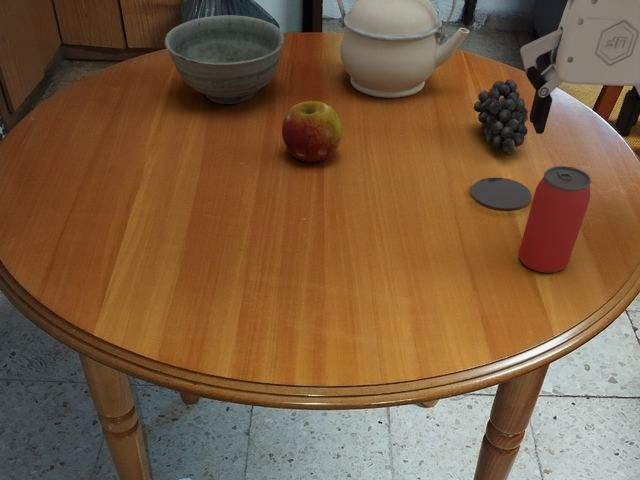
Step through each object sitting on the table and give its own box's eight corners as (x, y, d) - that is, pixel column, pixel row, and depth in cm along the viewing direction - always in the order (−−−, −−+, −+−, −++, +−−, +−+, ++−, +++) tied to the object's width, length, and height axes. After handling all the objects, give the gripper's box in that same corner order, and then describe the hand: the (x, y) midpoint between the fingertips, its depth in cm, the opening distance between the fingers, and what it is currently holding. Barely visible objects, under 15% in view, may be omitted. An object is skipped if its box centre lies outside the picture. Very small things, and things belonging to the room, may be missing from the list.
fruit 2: (533, 107, 101) (519, 66, 111) (477, 123, 104) (468, 81, 113) (537, 160, 108) (524, 116, 117) (485, 173, 110) (476, 129, 120)
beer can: (554, 244, 93) (580, 161, 84) (576, 272, 89) (605, 187, 80) (509, 249, 92) (531, 166, 83) (529, 278, 88) (554, 193, 79)
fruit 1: (271, 160, 108) (269, 110, 103) (299, 137, 114) (298, 88, 108) (324, 175, 106) (325, 124, 100) (350, 151, 111) (352, 101, 105)
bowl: (280, 69, 133) (278, 13, 126) (291, 116, 119) (289, 55, 112) (173, 74, 131) (165, 16, 124) (172, 122, 117) (163, 60, 110)
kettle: (316, 91, 126) (317, -70, 108) (350, 57, 138) (357, -94, 119) (446, 115, 120) (471, -52, 102) (470, 77, 132) (497, -79, 113)
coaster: (525, 180, 105) (525, 178, 105) (535, 211, 99) (536, 208, 99) (467, 179, 105) (467, 176, 105) (474, 210, 99) (475, 207, 99)
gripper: (552, -40, 62) (509, 142, 75) (739, -33, 62) (664, 148, 75) (536, -61, 67) (498, 113, 80) (710, -55, 67) (644, 118, 80)
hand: (579, 130), depth 77 cm, fingers open, 9 cm apart
